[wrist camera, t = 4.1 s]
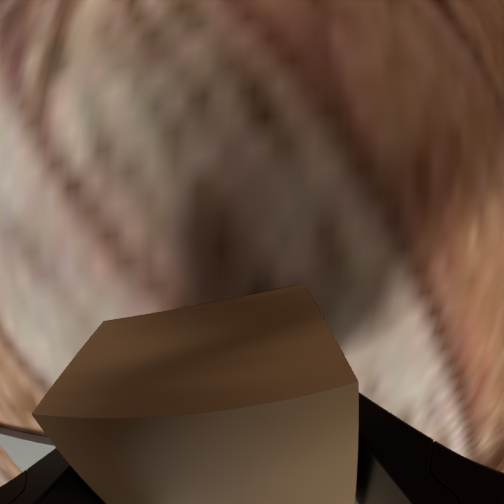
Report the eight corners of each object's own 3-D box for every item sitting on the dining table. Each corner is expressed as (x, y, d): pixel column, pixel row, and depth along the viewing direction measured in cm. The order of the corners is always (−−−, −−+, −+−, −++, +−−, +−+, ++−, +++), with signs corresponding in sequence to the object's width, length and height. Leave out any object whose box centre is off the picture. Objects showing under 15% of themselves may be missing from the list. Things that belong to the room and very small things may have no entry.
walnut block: (304, 283, 8) (357, 381, 4) (323, 429, 9) (352, 525, 5) (103, 321, 8) (31, 413, 4) (168, 451, 9) (150, 542, 5)
